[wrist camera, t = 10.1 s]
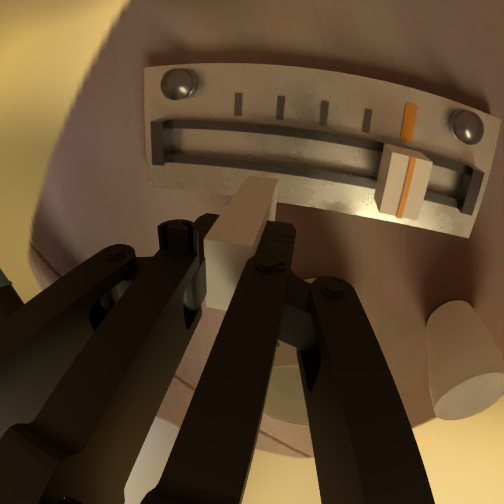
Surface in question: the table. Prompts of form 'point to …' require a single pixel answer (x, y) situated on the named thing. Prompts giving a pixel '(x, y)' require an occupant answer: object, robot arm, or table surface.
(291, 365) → the pitcher
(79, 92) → the table surface
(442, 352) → the cup
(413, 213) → the fader
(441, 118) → the console
